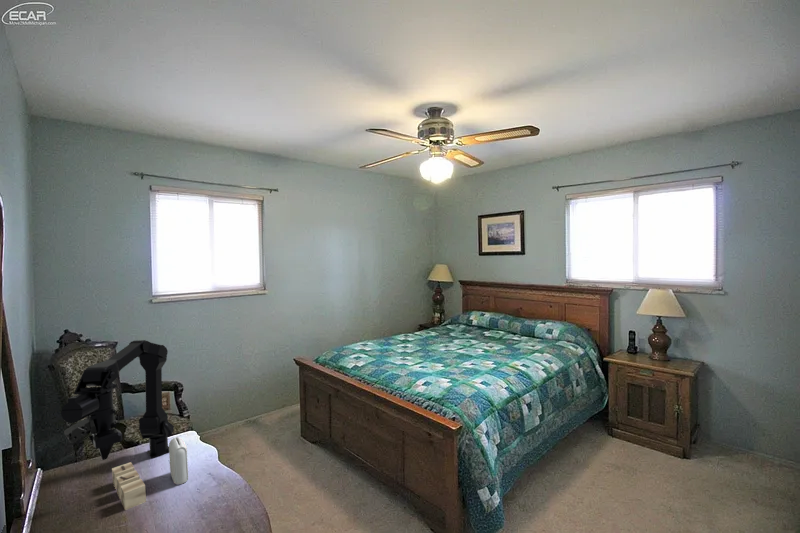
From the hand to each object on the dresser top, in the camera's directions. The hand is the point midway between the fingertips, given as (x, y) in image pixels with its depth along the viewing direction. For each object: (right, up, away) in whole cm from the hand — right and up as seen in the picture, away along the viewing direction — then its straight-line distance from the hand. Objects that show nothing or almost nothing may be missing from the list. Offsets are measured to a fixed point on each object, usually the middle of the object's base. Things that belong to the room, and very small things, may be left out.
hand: (104, 459), depth 113 cm
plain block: (+11, -11, -3) cm, 16 cm away
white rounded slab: (+17, -11, +9) cm, 22 cm away
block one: (+1, -11, +7) cm, 13 cm away
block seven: (+6, -11, +2) cm, 13 cm away
